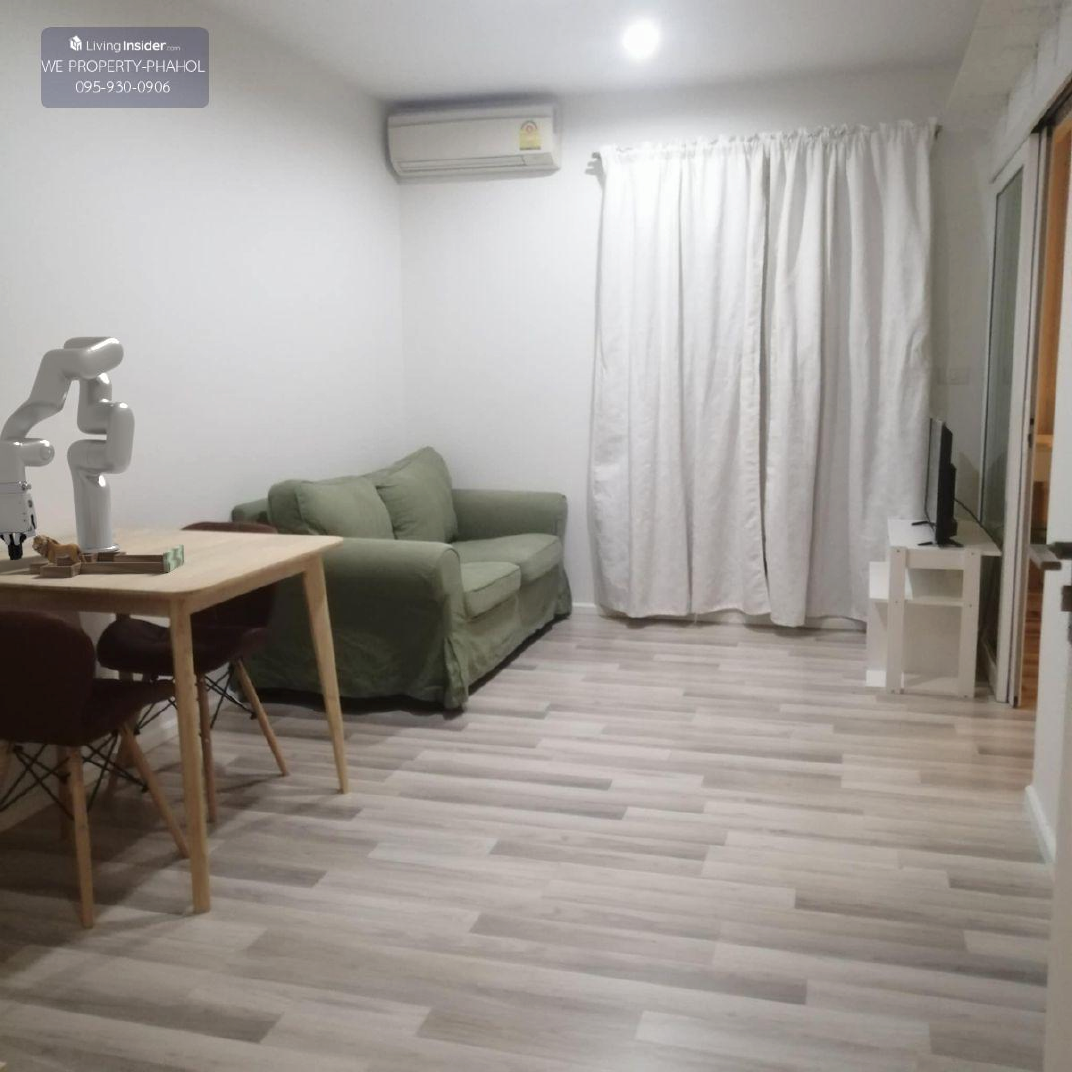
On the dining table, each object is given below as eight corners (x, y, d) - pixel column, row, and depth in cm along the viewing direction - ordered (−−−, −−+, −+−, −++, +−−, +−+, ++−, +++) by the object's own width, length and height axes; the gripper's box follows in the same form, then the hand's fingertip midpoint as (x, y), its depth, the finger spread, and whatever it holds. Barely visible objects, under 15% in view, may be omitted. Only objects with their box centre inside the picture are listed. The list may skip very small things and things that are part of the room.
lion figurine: (30, 571, 266) (27, 536, 264) (39, 567, 271) (36, 533, 270) (88, 570, 266) (86, 536, 265) (96, 566, 272) (94, 532, 270)
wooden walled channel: (59, 561, 279) (58, 542, 279) (189, 560, 280) (188, 542, 279) (20, 577, 258) (19, 557, 257) (162, 576, 258) (160, 556, 257)
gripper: (46, 487, 269) (51, 556, 272) (-12, 487, 269) (-6, 556, 272) (32, 490, 262) (38, 561, 264) (-27, 490, 261) (-21, 562, 264)
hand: (16, 559), depth 268 cm, fingers closed
